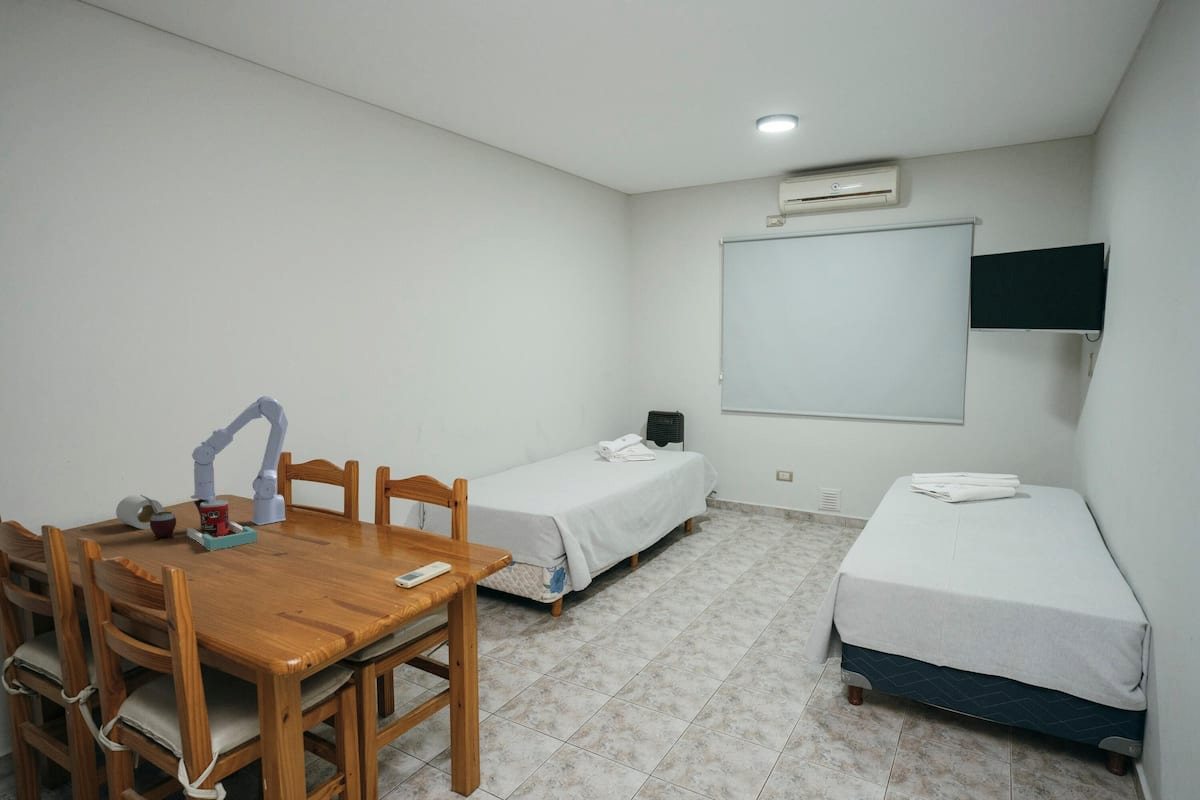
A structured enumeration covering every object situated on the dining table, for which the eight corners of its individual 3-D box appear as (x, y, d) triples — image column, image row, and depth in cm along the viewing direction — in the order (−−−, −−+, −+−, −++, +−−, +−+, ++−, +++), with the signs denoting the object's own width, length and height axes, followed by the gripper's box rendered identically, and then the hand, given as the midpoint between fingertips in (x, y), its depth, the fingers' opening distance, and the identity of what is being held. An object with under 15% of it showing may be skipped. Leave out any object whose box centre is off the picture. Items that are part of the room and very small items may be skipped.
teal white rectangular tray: (231, 527, 227) (231, 517, 227) (257, 541, 213) (256, 531, 213) (186, 536, 217) (186, 525, 217) (210, 551, 203) (210, 540, 203)
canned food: (195, 536, 217) (194, 503, 216) (217, 530, 224) (216, 498, 223) (212, 540, 214) (211, 506, 213) (234, 533, 221) (233, 501, 220)
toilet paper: (163, 525, 229) (162, 496, 228) (131, 532, 220) (130, 502, 219) (149, 520, 234) (147, 492, 233) (116, 527, 225) (115, 498, 224)
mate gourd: (181, 535, 218) (179, 490, 217) (163, 542, 210) (161, 496, 209) (160, 534, 219) (158, 489, 217) (141, 541, 211) (139, 495, 210)
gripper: (183, 479, 225) (185, 519, 226) (198, 487, 215) (200, 528, 217) (206, 476, 230) (208, 515, 231) (222, 483, 221) (223, 523, 222)
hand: (205, 521), depth 224 cm, fingers closed
